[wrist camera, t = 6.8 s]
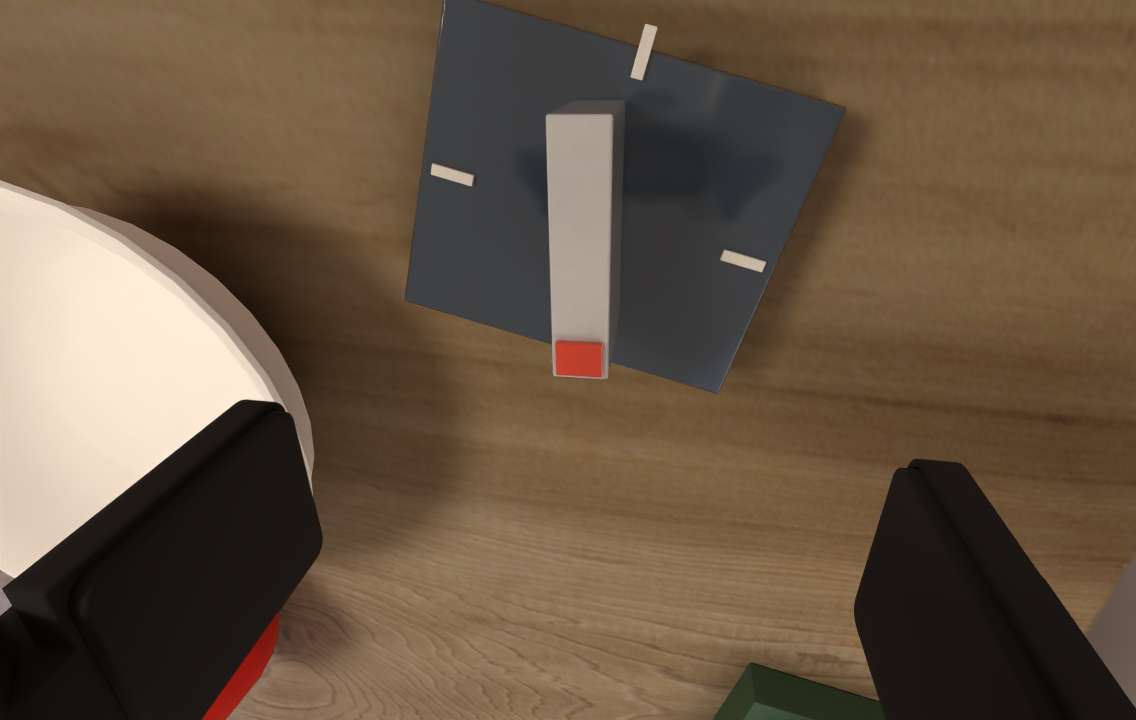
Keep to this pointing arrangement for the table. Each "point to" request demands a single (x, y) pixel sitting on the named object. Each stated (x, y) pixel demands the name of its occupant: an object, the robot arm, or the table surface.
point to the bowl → (109, 365)
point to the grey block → (585, 233)
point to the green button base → (792, 699)
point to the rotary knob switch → (650, 185)
